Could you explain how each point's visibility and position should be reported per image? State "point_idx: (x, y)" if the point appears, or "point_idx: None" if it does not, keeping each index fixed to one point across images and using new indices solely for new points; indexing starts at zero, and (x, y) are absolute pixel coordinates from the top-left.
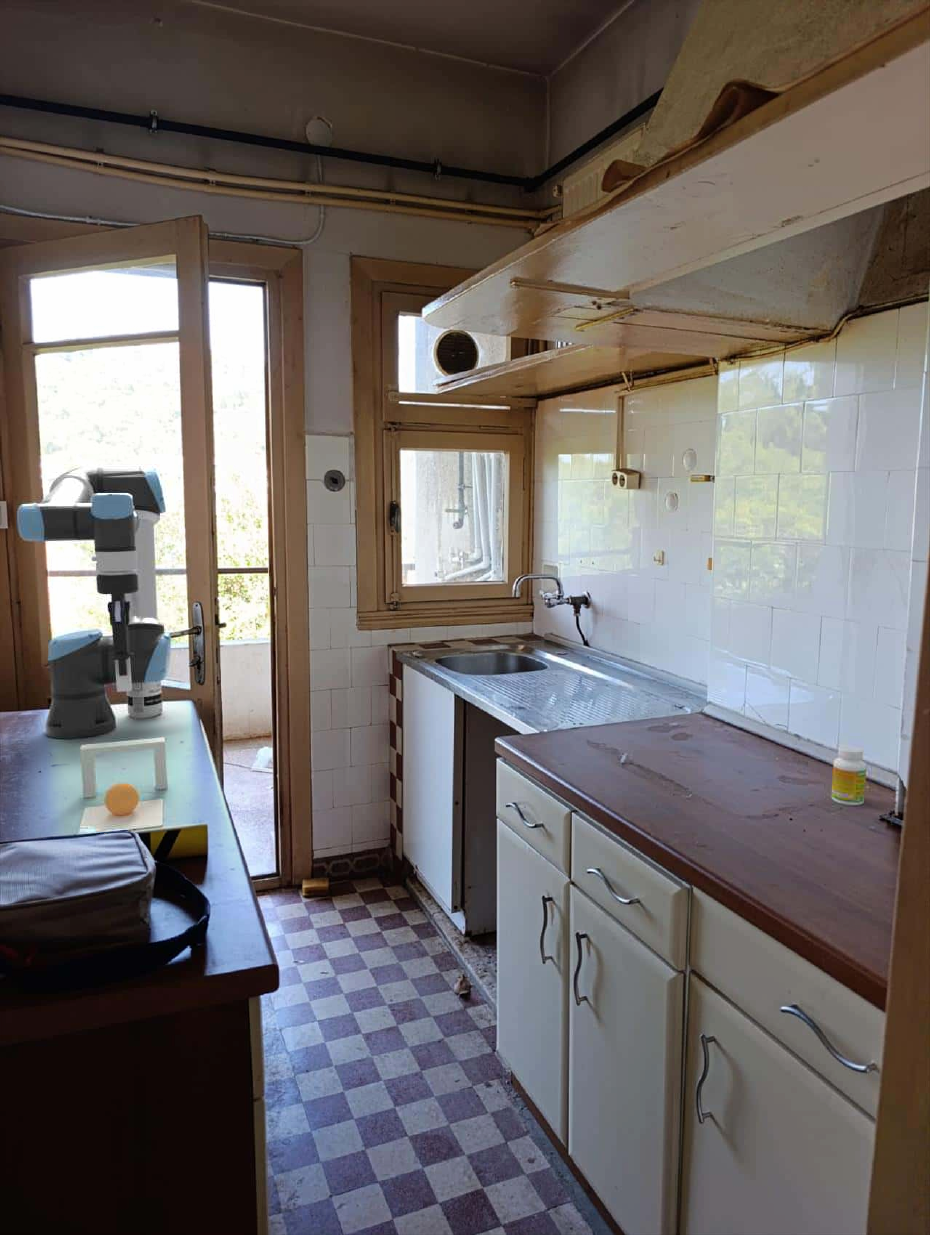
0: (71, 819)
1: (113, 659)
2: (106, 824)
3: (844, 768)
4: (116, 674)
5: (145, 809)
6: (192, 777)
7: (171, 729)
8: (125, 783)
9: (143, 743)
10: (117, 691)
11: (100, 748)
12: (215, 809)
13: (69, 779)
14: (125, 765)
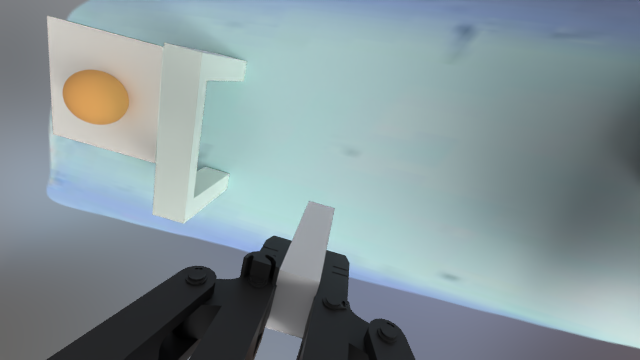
0: (125, 18)
1: (251, 261)
2: (78, 64)
3: None
4: (296, 232)
5: (120, 129)
6: (238, 227)
7: (557, 290)
8: (78, 107)
9: (155, 176)
10: (309, 203)
11: (161, 89)
12: (93, 209)
13: (343, 46)
14: (367, 157)
